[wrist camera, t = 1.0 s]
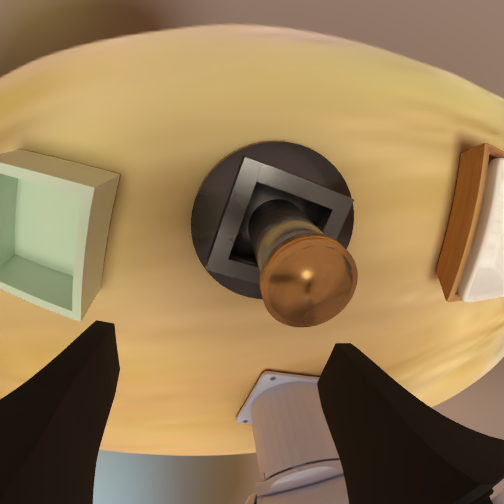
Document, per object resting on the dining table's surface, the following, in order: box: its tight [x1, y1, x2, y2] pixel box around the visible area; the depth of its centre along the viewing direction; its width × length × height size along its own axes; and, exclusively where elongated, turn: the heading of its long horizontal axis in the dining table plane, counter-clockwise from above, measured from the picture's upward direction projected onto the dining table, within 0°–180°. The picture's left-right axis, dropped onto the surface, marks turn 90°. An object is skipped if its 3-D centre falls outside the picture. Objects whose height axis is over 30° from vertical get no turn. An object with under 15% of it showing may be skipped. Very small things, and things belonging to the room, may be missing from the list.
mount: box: [191, 141, 354, 299], centre depth 17 cm, size 10×10×2 cm
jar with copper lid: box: [248, 199, 358, 327], centre depth 14 cm, size 4×4×7 cm
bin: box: [0, 150, 120, 322], centre depth 14 cm, size 8×8×4 cm
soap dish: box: [436, 143, 504, 302], centre depth 18 cm, size 12×10×5 cm
